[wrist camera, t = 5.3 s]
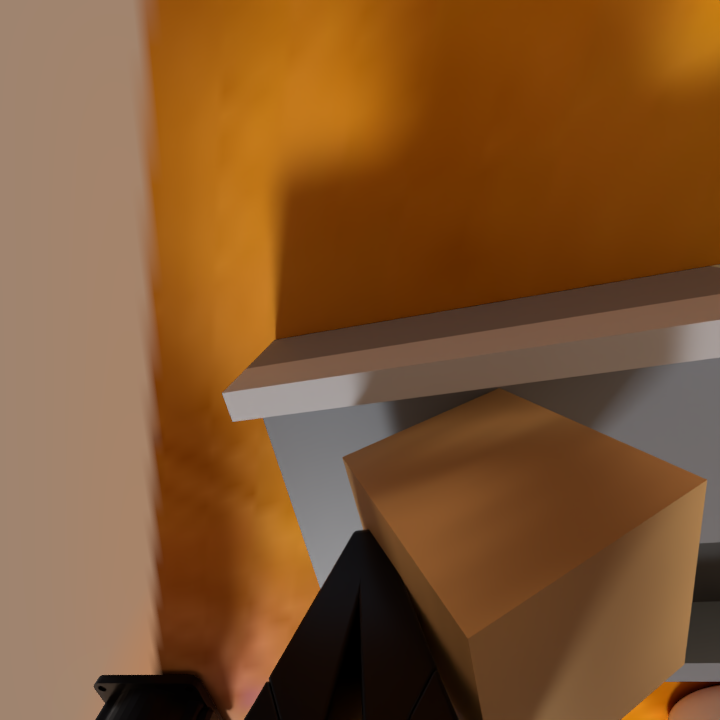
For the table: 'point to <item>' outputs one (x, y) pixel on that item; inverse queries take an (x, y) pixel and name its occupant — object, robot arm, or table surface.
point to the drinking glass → (698, 705)
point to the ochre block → (536, 557)
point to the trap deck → (515, 375)
